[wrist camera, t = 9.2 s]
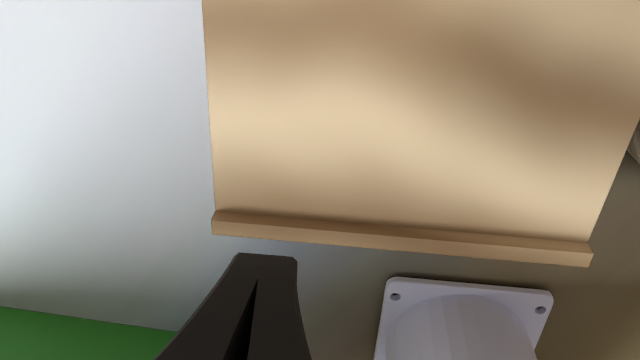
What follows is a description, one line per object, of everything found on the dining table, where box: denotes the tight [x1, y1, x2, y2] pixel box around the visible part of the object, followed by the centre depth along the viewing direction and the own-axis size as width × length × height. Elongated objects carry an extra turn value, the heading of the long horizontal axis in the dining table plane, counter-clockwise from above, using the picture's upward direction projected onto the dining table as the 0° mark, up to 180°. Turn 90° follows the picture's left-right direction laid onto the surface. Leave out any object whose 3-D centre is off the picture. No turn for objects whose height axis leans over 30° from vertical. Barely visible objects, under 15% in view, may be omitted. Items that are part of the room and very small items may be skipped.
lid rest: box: [202, 0, 640, 267], centre depth 16 cm, size 13×13×5 cm
